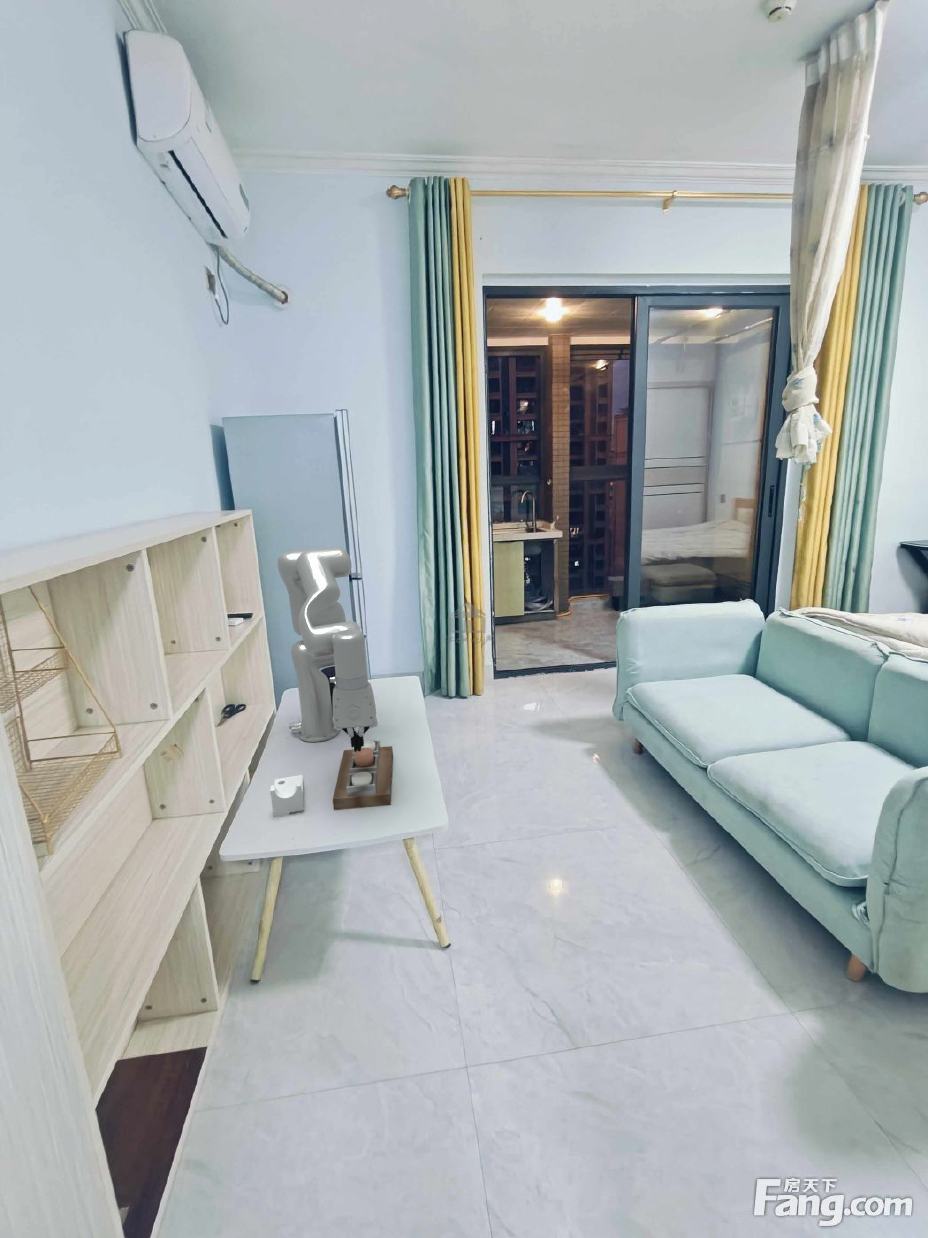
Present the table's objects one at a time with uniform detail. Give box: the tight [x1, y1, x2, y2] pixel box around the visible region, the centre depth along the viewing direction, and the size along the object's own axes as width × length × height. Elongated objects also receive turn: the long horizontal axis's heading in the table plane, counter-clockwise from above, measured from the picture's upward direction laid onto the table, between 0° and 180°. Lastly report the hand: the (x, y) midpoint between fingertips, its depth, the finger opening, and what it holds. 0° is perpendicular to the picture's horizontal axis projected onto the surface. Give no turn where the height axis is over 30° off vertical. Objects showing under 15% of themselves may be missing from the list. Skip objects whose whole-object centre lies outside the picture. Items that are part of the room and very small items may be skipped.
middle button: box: [354, 748, 374, 767], centre depth 154 cm, size 5×5×3 cm
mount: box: [332, 739, 394, 811], centre depth 155 cm, size 14×26×6 cm, turn 6°
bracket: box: [269, 774, 305, 818], centre depth 146 cm, size 13×7×8 cm, turn 15°
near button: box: [351, 772, 372, 786], centre depth 146 cm, size 5×5×3 cm
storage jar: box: [320, 665, 336, 714], centre depth 201 cm, size 10×10×15 cm
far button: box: [361, 740, 376, 751], centre depth 163 cm, size 5×5×3 cm
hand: (357, 748), depth 144 cm, fingers closed
